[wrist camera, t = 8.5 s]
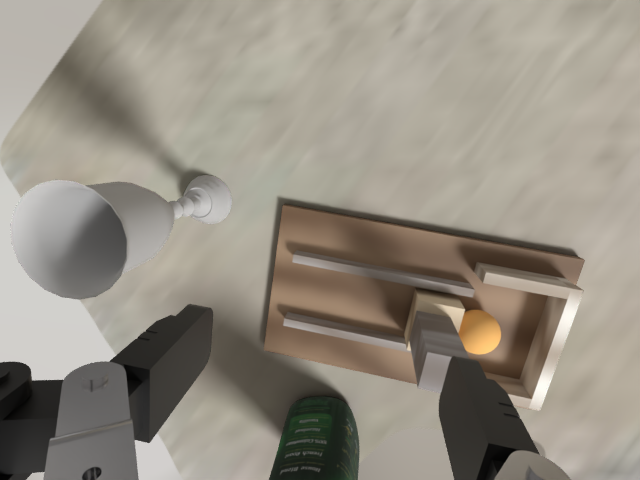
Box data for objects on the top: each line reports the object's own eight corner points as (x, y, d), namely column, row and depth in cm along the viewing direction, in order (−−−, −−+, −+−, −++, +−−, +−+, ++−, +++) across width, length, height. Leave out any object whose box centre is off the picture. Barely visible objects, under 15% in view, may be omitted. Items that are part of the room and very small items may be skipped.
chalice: (191, 241, 39) (46, 313, 22) (164, 180, 38) (-12, 206, 21) (252, 219, 38) (148, 278, 20) (226, 155, 36) (92, 159, 19)
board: (284, 203, 37) (274, 210, 33) (578, 257, 34) (605, 270, 30) (266, 345, 41) (255, 365, 37) (527, 402, 38) (544, 431, 34)
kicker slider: (415, 287, 35) (430, 339, 26) (457, 296, 35) (489, 351, 25) (404, 334, 37) (414, 399, 27) (444, 342, 36) (470, 412, 27)
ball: (513, 326, 31) (497, 307, 35) (465, 317, 32) (455, 299, 36) (500, 367, 32) (486, 344, 36) (454, 358, 33) (445, 335, 37)
